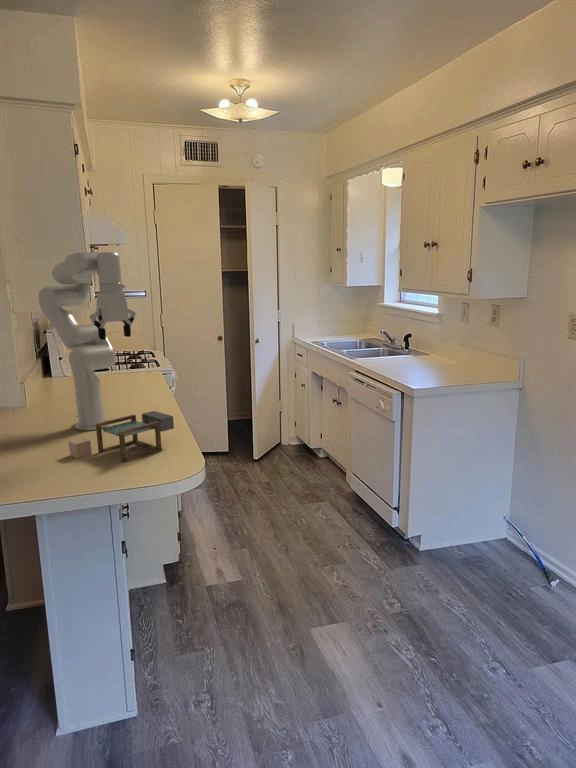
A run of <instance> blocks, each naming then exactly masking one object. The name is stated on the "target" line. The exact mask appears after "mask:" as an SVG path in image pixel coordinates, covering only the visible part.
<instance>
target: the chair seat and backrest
mask: <svg viewBox="0 0 576 768" xmlns="http://www.w3.org/2000/svg"><path fill="white" fill-rule="evenodd" d="M141 421H142V422H141ZM141 421H138V420H136V421H135V420H134V421H131V420H129V421H125V422H122V423H117V424H115V425H114V424H113V425H110V426H106V427H104V428H102V430H103V432H105V433H108V434H111V435H114V436H116V437H119V431H122V430H126V429H130V428H134V427H138V426H142V425H146V424H149V423H153V422H157V421H158V422H160V433H162V432H166V431H170V430H174V429H175V424H174V415H171V414H167V413H163V412H159V411H155V410H152V411H149V412H143V413H141ZM152 430H154V431H155V426H154V427H150V428H146V429H142V430H139V431H135V432H131V433H127V434H124V436H125V438H126V437H129V436H133V434H137V435H138V434H139V433H141V434H142V433H144V432H148V431H152Z"/></svg>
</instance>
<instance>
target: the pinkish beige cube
mask: <svg viewBox="0 0 576 768" xmlns="http://www.w3.org/2000/svg"><path fill="white" fill-rule="evenodd" d="M91 444H92V443H91V440H90V439H87V438H85V437H80V438H77V439H73V440H72V439H71V440H68V449H69V456H70V457H72V458H75V459H81V458H85V457H88V456H89V457H90V456H91V455H93V453H92V445H91Z"/></svg>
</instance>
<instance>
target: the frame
mask: <svg viewBox="0 0 576 768" xmlns="http://www.w3.org/2000/svg"><path fill="white" fill-rule="evenodd" d="M128 420H129V421H134V420H135V421H137V417H136V414H131V415H127V416H123V417H118V418H114V419H109V420H107V421H105V422H101V423H96V439H97V440H96V442H97V451H98V453H99V454H102V453H104V452H108V451H112V450H117V449H119V450H120V451H119V452H120V459H121V463H126V462H128V461H132V460H136V459H139V458H141V457H146V456H149V455H153V454H156V453H159V452H162V451H161V450H163V449H162V439H161V438H162V437H161V436H162V435H161V431H160V422H158V421H157V422H153V423H149V424H146V425H142V426H138V427H134V428H130V429H126V430H122V431H119V436H118V438H119V439H118V440H119V444H115V445H112V446H107V447H104V444H103V443H104V442H103V441H104V440H103V433H102V428H101V426H105V425H111V424H113V425H114V424H116V423H117V424H118V423H120V422H124V421H125V422H126V421H128ZM154 426H155V430H154V433H155V435H154V436H155V445H152V444H150V443H147V442H144V441H141V440H138V439H139V438H138V433H137V434H133V435H132V440H130V441H127V442H126V437H125V436H124V434H127V433H131V432H135V431H139V430H142V429H146V428H150V427H154ZM133 444H136V445H139V446H142V447H144V448H148V449H150V450H148V451H144V452H140V453H137V454H134V455H131V456H127V449H126V446H131V445H133Z"/></svg>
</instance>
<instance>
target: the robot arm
mask: <svg viewBox="0 0 576 768" xmlns="http://www.w3.org/2000/svg"><path fill="white" fill-rule="evenodd" d="M120 258H121V257H120V255H119V253H118V252H116V251H103V252H101V251H97V252H92V251H91V252H90V251H85V252H75V253H74V252H73V253H71V254H69V255H67V256H66V257H65V259H64V261H61V262H58V263H57V264H55V265H54V266H53V268H52V271H51V276H52V278H53V280H54V281H55V282H57V283H59V285H48V286H45V287H43V288H41V289H40V291H38V304H39V307H40V310H41V311H42V313H43V315H44V316H45V317H46V318H47V320H48V321H49V322H50V323H51V324H52V326H53V327H54V329H55V331H56V332H57V335H58V336H59V339H60V340H61V342H62V343H63V346H64V347H65V348H66V349H68V350H70V352H69V355H68V362H69V365H70V369H71V372H72V378H73V385H74V392H75V402H76V410H77V416H76V419H78V421H77V422H76V423H75V424H74V429H76V430H77V431H78V430H79V431H94V430H96V423H101V422H105V421H108V420H107V419H105V416H104V407H103V397H102V396H103V395H102V388H101V387H102V386H101V380H100V379H99V377H98V376H97V375H96V374H95V371H97V370H103V369H104V370H105V369H108V368H109V369H110V368H112V367H113V366H114V365H115V364H116V362H117V355H116V351H115V349H114V347H113V345H112V343H111V342H110V340H109V339H108V337H107V333H106V328H105V325H106V324H107V323H112V322H122V323H123V324H124V325H123V336H124V337H127V338H128V337H129V338H130V337H131V333H132V330H131V326H132V324H133V322H134V321H135V317H136V313H137V312H136V311H134V310H131V309H129V308H128V302H127V298H126V294H125V292H124V291H123V289H125V288H126V285H125V284H123V283H122V270H121V260H120ZM94 275H98V288H99V292H98V293H97V296H96V311H95V312H94V313H92V314H91V315H90V316H89V319H90V321H91V322H92V323H90V324H80V323H78V321H77V320H76V318H75V316H74V315H73V314H72V313H71V312H69V311H68V310H67V309H65V308H66V307H77V306H82V305H84V304H85V303H86V301H87V298H88V294H89V291H90V288H91V285H92V281H93V277H94ZM63 307H65V308H63ZM105 427H109V426H108V425H105V426H101V429H103V428H105Z"/></svg>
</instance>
